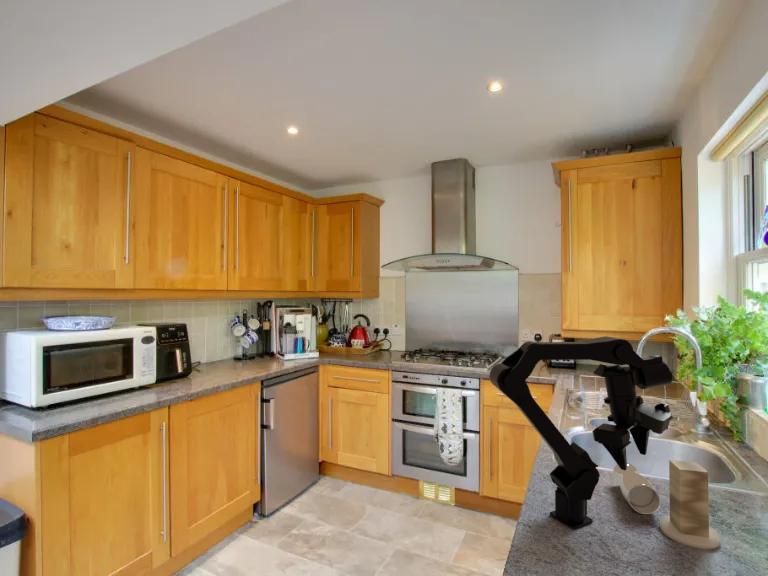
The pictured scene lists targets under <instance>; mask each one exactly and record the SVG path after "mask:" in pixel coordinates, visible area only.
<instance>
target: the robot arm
mask: <svg viewBox="0 0 768 576" xmlns="http://www.w3.org/2000/svg"><path fill="white" fill-rule="evenodd" d="M577 360H578V361H581V360H582V361H587V360H590V361H595V362H600V364H599V365H598V367H597V368H595V370H594V371H593V373H592V374H593V375H595V376H597V377H600V378H604V384H605V388H606V395H607V396H606V397H605V398H604V399H603V401H604V404H608V405H609V409H610V410H609V411H610V412H609V413H610V414H609V415H608V416H607V422H612V423H613V424H611V423H602V424H600V425H599V426H597V427H595V428H594V430H592V438H593V440H594V442H597V443H598V444H601V445H602V446H603V447H604V448H605V449H606V451H607V452H608V453H609V454H610V456H611V457H612V459H613V460H614V462H615V463H616V465H617V464H618V466H619V467H620V468H621V469H622V470H627V463H628V462H627V461H628V459H627V447H628V446H629V445H630V444H632V441H631V437H632V440H633V442H634V444H635V446H636V448H637V450H638V451H639V454H640V455H644V456H646V455H647V451H648V444H649V439H650V433H651V432H653V433H654V434H658V435H661V434H663V433H664V432H665V431H666V430H668V429H669V426H670V421H672V420H673V419H674V416H673V415H672V414H673V412H671V409H670V406H669V404H668V403H666V402H663V401H660V402H658V403H657V404H656V405H653V404H649V405H648V404H646V403H644V399H643V397H642V396H641V395H638V394H637V390H636V387H638V388H639V389H640V390H648V389H655V388H659V387H663V386H669V385H671V384H672V382H673V372H672V371H671V370H670V368H669V366H668V364H666V363H665V361H664V360H663V357H662V355H658V354H654V355H653V354H652V355H649V356H647V357H641V356H640V355H639V354H638V352H636V351H634V347H633V346H632V343H630V342H629V340H627V339H624V338H617V337H614V336H613V337H612V336H600V337H595V338H590V339H588V340H584V341H557V342H556V341H554V342H553V341H549V342H548V341H546V342H545V341H543V342H538V341H537V342H533V341H531V340H529V341H525V342H523V344H521V345H520V346H519V347H518V348H517V349H516V350H515V351H513V352H512V353H511V354H509V355H508V356H507V357H505V358H504V359H503V360H502V362H501V363H497V364H495V365H494V366H493V367H492V368H491V369H490V372H489V380H490V382H491V384H492V385H493V386H494V387H495V388H496V389H498V391H500V392H501V393H502V394H503V395H504V396H505V397H507V398H508V399H509V401H511V402H513V404H515V405H516V407H517V408H518V409H519V411H520V412H521V413H522V415H523V416H524V417H525V418H526V419H527V420H528V422H529V424H530V425H531V426H532V427H533V428H534V430H535V431H536V432H537V433H538V434H539V436H540V437H541V438H542V440H543V441H544V442H545V443H546V445H547V446H548V448H549V449H550V450H551V451H552V453H553V456H554V459H555V462H556V464H557V466H555V468H554V469H552V470H551V472H550V473H549V477H550V479H551V482H552V483H553V484H554V485H556V489H555V490H554V502H555V503H554V507H555V508H554V510H552V511H550V512H549V516H550V517H552V518H553V519H556V520H557V521H559V522H560V523H563V524H564V525H565V526H567V527H569V528H570V529H573V530H575V529H577V528H578V529H579V528H581V527H584V526H586V525H589V524H592V523H593V522H594V520H593V518H591V517H589V516H588V501H590V500H592V497H593V494H594V491H595V488H596V486H597V485H598V484H599V481H600V480H599V479H600V476H601V474H600V472H599V470H598V468H599V465H598V464H597V463H595V462H594V461H593V459H592V458H591V456H590V454H589V453H588V452H587V450H585V449H584V448H583V447H581V446H580V445H578V444H577V443H576V442H574V441H572V443H571V444H570V443H569V441H568V440H567V439H566V438H565V436H564V435H563V434H562V433H561V432H560V430H559V428H557V427H556V425H555V424H554V423H553V421H552V420H551V419H550V418H549V416H548V415H547V414H546V413H545V412H544V410H543V409H542V408H541V406H540V404H539V403H537V401H536V400H535V398H534V397H533V395H532V393H531V390H530V387H529V385H528V383H527V381H526V380H528V378H529V377H530V376H531V375H532V373H533V372H534V369H535V368H536V366H537V364H538V363H539V362H540V361H577ZM603 363H605V364H610V365H611V364H612V365H611V366H610V365H609V366H607V365H605V364H603Z"/></svg>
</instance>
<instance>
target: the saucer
mask: <svg viewBox="0 0 768 576" xmlns="http://www.w3.org/2000/svg"><path fill="white" fill-rule="evenodd" d="M659 528H660V531H661V532H662V533H663V534H664V535H665V536H666V537H668V538H669V539H670V540H673V541H675V542H676V543H679V544H681V545H684V546H687V547H690V548H694V549H698V550H707V551H708V550H716V549H719V548H720V547H721V536H720V534H719V533H718V531H717V530H715V529H714V528H713V527H712V526H709V537H701V536H694V535H686V534H680V533H679V531H678V530H677V529H676V528H675V526H674V525H673V524H672V523H671V521H670V515H667V516H666V515H665V516H663V517H661V518H660V520H659Z"/></svg>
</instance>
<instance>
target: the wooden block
mask: <svg viewBox="0 0 768 576" xmlns="http://www.w3.org/2000/svg"><path fill="white" fill-rule="evenodd" d="M668 466H669V467H668V471H669V472H668V473H669V477H668V480H669V482H668V484H669V485H668V487H669V516H670V521H671V523H672V524H673V525H674V526H675V528H676V529H677V530H678V531H679V533H680V534H686V535H694V536H701V537H709V527H710V514H709V511H710V509H709V508H710V506H709V505H710V501H709V500H710V499H709V494H710V493H709V472H708V471H707V470H706V469H705V468H704V467H703V466H702V465H700V464H698V462H695V461H687V460H674V459H669V460H668Z"/></svg>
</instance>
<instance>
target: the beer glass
mask: <svg viewBox="0 0 768 576" xmlns="http://www.w3.org/2000/svg"><path fill="white" fill-rule="evenodd" d="M612 475H613V478H614V480H615V481H616V482H617V484H619V489H620V492H621V495H622V496H623V498H624V500H625V501H626V502H627V504H628V505H629V506H630V507H631V508H632V509H633V510H634V511H635V512H637V513H639V514H641V515H647V516H648V515H652V514H654V513H656V512H658V510H659V509H660V507H661V502H662V501H661V497H660V494H659V493H658V492H657V490H656V488H655V487H654V485H653V484H652V483H651V481H649V480H648V479H647V478H646V477H645V476H643V475H641V474H640V472H639V470H638V469H637V467H635V465H633V464H631V463H629V462H627V470H622V469H621V468H620V467H619V466H618V464H617V463H616V465H615V466H614V467H613V470H612Z"/></svg>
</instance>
